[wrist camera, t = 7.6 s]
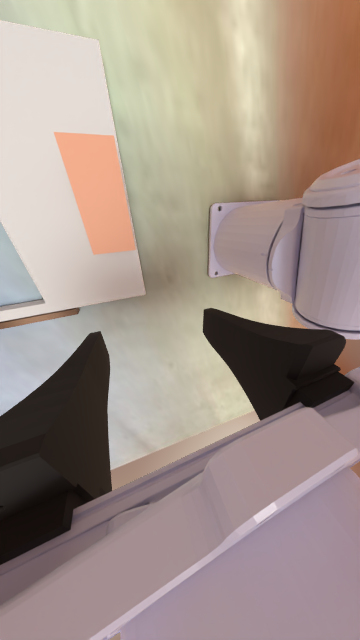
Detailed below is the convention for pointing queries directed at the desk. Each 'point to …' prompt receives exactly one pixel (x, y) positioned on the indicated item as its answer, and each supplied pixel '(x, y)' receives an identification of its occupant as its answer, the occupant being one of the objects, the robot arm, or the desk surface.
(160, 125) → the desk surface
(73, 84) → the cube strip
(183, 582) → the robot arm
